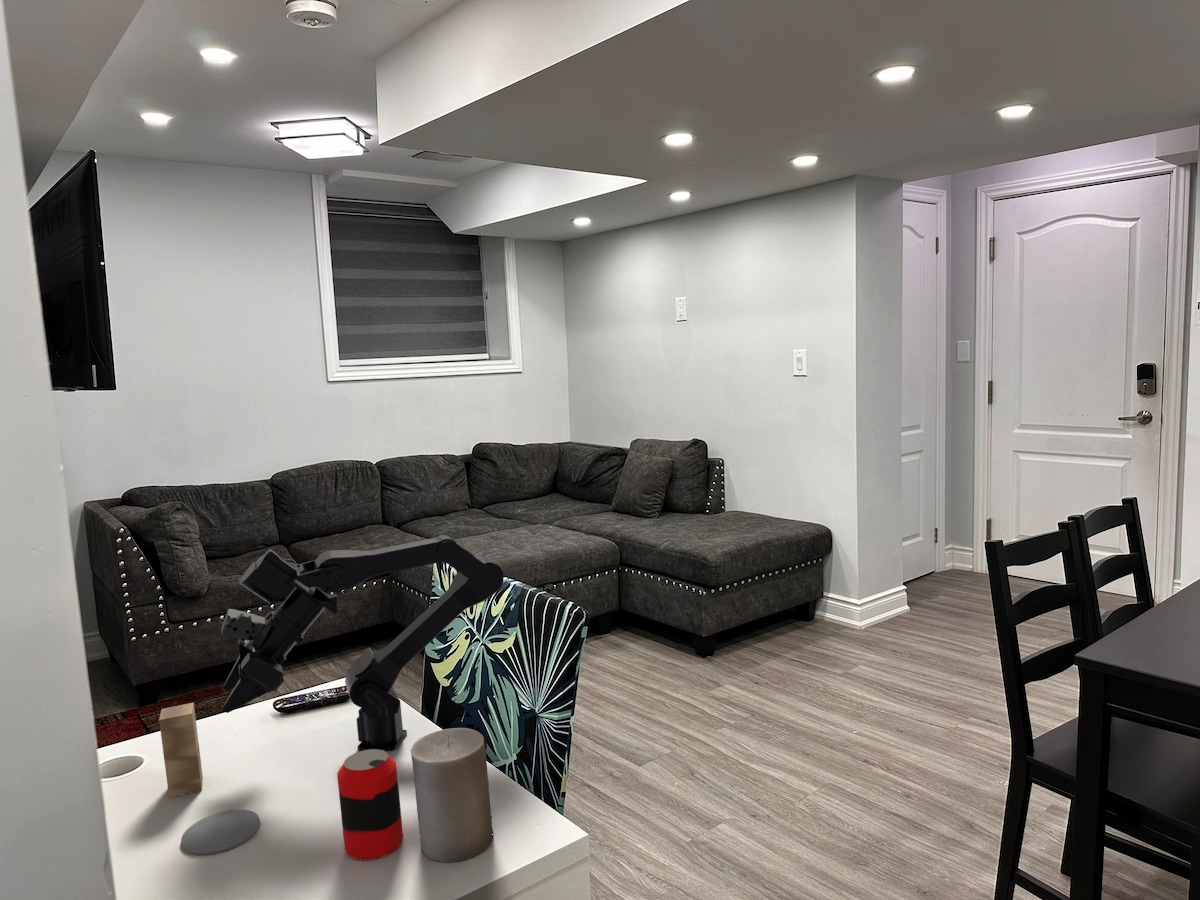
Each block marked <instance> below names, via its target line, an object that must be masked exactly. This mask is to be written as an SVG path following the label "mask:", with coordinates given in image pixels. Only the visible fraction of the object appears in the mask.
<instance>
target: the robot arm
mask: <svg viewBox="0 0 1200 900" xmlns="http://www.w3.org/2000/svg"><path fill="white" fill-rule="evenodd" d="M439 563H446V564H447V565H449V566H450V567H451V568H453V569H454V570H456V571H457V572H456V574H455V576H454V577H453V580H452V581H451V583H450V585H449V587H448V589H447V590H446V591H444V593H443V594H442V595H441V596H439V598H437V599H436V600H435V601H434V602H433V603H432V604H431V605H430V606H429V607H427V609H425V610H424V612H422V613H421V614H420V615H419V616H418V617H416V619H414V620H413V622H412V623H410V624H409V625H408V626H407V627H406V628H405V629H404V630H403V631H402V632H401V633H400V634H398V635H397V636H396V637H395V638H394V639H393V640H392V641H391V642H390V643H389V644H388V645H387V646H385V647H384V648H382V649H380V650H377V651H374V652H373V651H372V649H371V648H370V647H366V649H364V651H363V652H362V654H360V656H359V657H358V658H356V659H354V660H353V661H350V662H349V665H350V667H349V669H348V670H347V671H346V673H345V678H344V679H345V681H344V682H345V683H344V684H345V686H346V689H347V692H348V695H349V698H350V701H351V702H352V703H353V705H355V706H356V707H358V708H359V709H358V717H357V718H356V728H357V737H358V738H357V739H358V742H359V744H358V745H357V746H356V747H357V750H358V751H364V750H370V749H378V750H383V751H393V750H396V748H398V746H399V744H400V743H401V742H402V740H403V739H404V738H405V736H406V735H407V733H408V730H407V729H404V726H403V718H402V717H403V714H402V703H401V700H400V698H399V696H398V694H397V692H396V690H395V687H394V685H395V683H396V681H397V679H398V677H399V675H400V674H401V671H402V670H403V668H404V667H405V666H407V665H408V664H409V663H410V662H411V661H412V660H413V659H415V657H416V656H417V655H418V654H419V653H420V652H421V651H422V650H424V649H425V648H426V647H427V646H428V645H429V644H430V643H431V642H432V641H433V640H434V639H436V638H437V637H438V635H440V634H441V633H442V631H444V629H446V628H447V627H448V626H450V624H451V623H452V622H453V621H454V620H456V619H457V618H458V617H459V616H460V615H461V614H462V613H463V612H465V610H467V609H468V608H471V607H474V606H476V605H478V604H481V603H483V602H484V601H486V600H488V599H489V598H490V597H492V596H493V595H495V594H496V593H498V592H499V591H500V589H501V588H502V587H503V585H504V577H505V576H504V571H503V570H502V568H501V566H499V565H498V564H497V563H496V562H494V561H493V560H492V559H490V557H488V556H486V555H483V554H481V555H480V554H479V555H478V554H477V555H474V554H472V553H471V552H470V551H469V550H468V549H465V548H464V547H462V546H461V545H459V544H458V543H457V542H456V541H455V540H454V539H453V538H451V537H450V536H448V535H446V534H441V535H437V536H436V537H432V538H426V539H422V540H416V541H412V542H407V543H403V544H396V545H392V546H387V547H381V548H376V549H372V550H358V549H357V550H356V549H355V550H354V549H339V550H338V549H335V550H334V549H333V550H332V549H331V550H326V551H323V552H322V553H320V554H319V555H318V556H317V557H316V558H315V559H313V560H310V561H307V562H303V563H300V564H295V565H292V564H290V563H289V562H287V561H286V560H285V559H283V558H282V557H281V556H279V554H278V553H277V552H275V551H274V550H273V549H271V548H269V549H268V550H267V551H266V552H264V554H262V555H261V556H260V557H259V558H257V559H256V560H255V561H253V562H252V563H251V564H250V566H249V567H248V568H247V569H246V570H245V572H244V573H243V574H242V576H241V578H240V580H239V582H238V583H239V585H240V586H242V587H244V588H246V589H247V590H248V591H250V592H251V593H253V594H254V595H255V596H257V597H259V598H260V599H262V600H263V601H265V602H266V603H267V604H272V603H273V602H274V603H276V604H277V603H280V602H282V601H283V602H282V603H281V604H280V605H279V606H278V608H277V609H275V611H274V610H271V611H269V612H268V613H267V614H266V615H265V616H260V615H257V614H255V613H251V612H247V611H242V610H238V609H236V608H235V609H234V608H228V609H227V611H226V614H225V616H224V617H225V618H224V620H223V622H222V624H221V625H222V626H221V629H220V630H221V631H220V634H221V635H222V636H224V637H226V638H236V639H238V650H239V656H238V657H237V659H236V661H235V664H234V665H233V667H232V669H231V671H230V673H229V675H228V677H227V678H226V681H225V682H224V684H223V687H222V689H223V690H224V691H226V692H230V691H231V690H232V691H231V693H230V694H229V695H228V698H227V699H226V701H224V703H223V705H222V708H221V710H222V711H223V712H225V713H226V714H227V713H228V714H229V713H230V712H232V711H234V710H237V709H238V708H240V707H241V706H244V705H246V704H247V703H249V702H252V701H253V700H255V699H258V698H260V697H261V696H263V695H265V694H268V693H269V694H271V693H272V692H276V691H278V689H279V688H280V687H281V686H282V684H283V683H284V681H285V679H284V670H283V665H284V663H285V662H286V661H287V657H286V656H287V655H288V654H289V652H291V650H292V649H293V648H294V646H295V645H296V644H297V643H298V645H300V644H301V643H302V642H303V641H304V639H305V638H304V634H305V633H306V632H307V631H308V629H309V628H310V627H311V625H313V623H315V621H316V620H317V619H318V618H319V616H320V615H321V614H322V612H323V611H324V610H325V609H327V610H328V611H329V612H331V613H332V614H333V615H337V614H339V610H338V609H339V608H338V600H339V597H338V595H337V593H340V592H343V591H345V590H349V589H350V588H353V587H356V586H358V585H360V584H362V583H364V582H366V581H367V580H369V579H370V578H374V577H376V576H381V575H385V574H390V573H395V572H401V571H405V570H410V569H414V568H420V567H423V566H428V565H433V564H439ZM294 587H295V588H294ZM293 588H294V589H293ZM323 590H324V591H325V592H324V591H323ZM289 593H290V594H289ZM327 593H329V594H327ZM330 593H331V594H330ZM285 598H286V599H285ZM284 599H285V600H284Z"/></svg>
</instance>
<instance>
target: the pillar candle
mask: <svg viewBox="0 0 1200 900" xmlns="http://www.w3.org/2000/svg"><path fill="white" fill-rule="evenodd" d="M486 752H487V751H486V743H485V737H484V736H483V734H482V733H481V732H480V731H478V730H475V729H472V728H467V727H453V728H452V727H451V728H445V729H440V730H437V731H434V732H431V733H428V734H426V735H424V736H422V737H420V738H419V739H417V740H416V741H414V743H413V744H412V746H411V748H410V755H411V763H412V770H413V771H412V773H413V783H414V791H415V792H414V793H415V802H416V803H415V804H416V811H417V812H416V813H417V821H418V828H419V829H418V830H419V837H420V838H419V840H420V847H421V850H422V852H423V853H424V854H425V856H427V857H428V858H429V859H430V860H432V861H435V860H436V862H440V861H442V862H444V863H454V862H453V861H455V862H460V861H463V860H467V859H470V858H473V857H475V856H476V855H478V854H480V853H481V852H484V850H486V849H488V848H489V846H490V845H491V844H492V842H493V840H494V837H495V836H494V829H493V822H492V821H493V820H492V819H493V815H492V808H491V797H490V784H489V774H488V765H487V763H488V762H487V754H486ZM492 834H493V835H492ZM490 843H491V844H490ZM442 862H441V863H442Z"/></svg>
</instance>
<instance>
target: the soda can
mask: <svg viewBox="0 0 1200 900" xmlns="http://www.w3.org/2000/svg"><path fill="white" fill-rule="evenodd" d="M397 768H398V766H397V762H396V760H395V759H394V758H393V757H392V756H390V755H389V754H388V752H386V750H378V749H370V750H359V751H357V752H355V753H352V754H351V755H349V756H348V757H347V758H346V759H345V760H344V762H343V763H342V765H341V766H340V768H339V770H338V771H337V773H336V775H337V777H336V778H337V784H338V785H337V786H338V797H339V805H340V807H339V808H340V812H341V813H340V815H341V826H342V834H343V835H342V836H343V844H344V845H343V846H344V851H345V853H346V854H347V855H348V856H349V857H350V858H353V859H354V858H356V859H355V860H358V859H361V860H360V861H370V860H369V859H373V860H376V859H375V858H377V859H380V858H379V857H381V858H383V857H386V856H388V855H390V854H391V853H393V852H394V851H396V850H397V849H398V847H399V846H400V845H401V844H402V842H403V838H404V832H403V822H402V821H403V820H402V811H401V801H400V800H401V799H400V790H399V778H398V769H397ZM392 851H393V852H392ZM389 853H390V854H389ZM387 854H388V855H387ZM385 855H386V856H385ZM382 856H383V857H382Z"/></svg>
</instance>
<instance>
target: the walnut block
mask: <svg viewBox="0 0 1200 900" xmlns="http://www.w3.org/2000/svg"><path fill="white" fill-rule="evenodd" d="M158 722H159V727H160V728H159V729H160V730H159V731H160V737H161V744H162V752H163V753H162V755H163V760H164V767H165V776H166V784H167V791H168V798H169V799H172V798H171V797H173V798H177V797H181V796H184V795H183V794H186V795H189V794H188V793H190V794H192V793H191V792H194V793H198V792H197V791H199V792H201V790H202V791H203V782H202V781H204V780H203V779H204V776H203V768H202V767H203V766H202V760H201V758H202V757H201V751H200V744H199V734H198V727H197V718H196V710H195V703H194V702H190V703H184V704H179V705H174V706H169V707H165V708H161V711H160V715H159V719H158ZM180 795H181V796H180ZM176 796H177V797H176Z"/></svg>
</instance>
